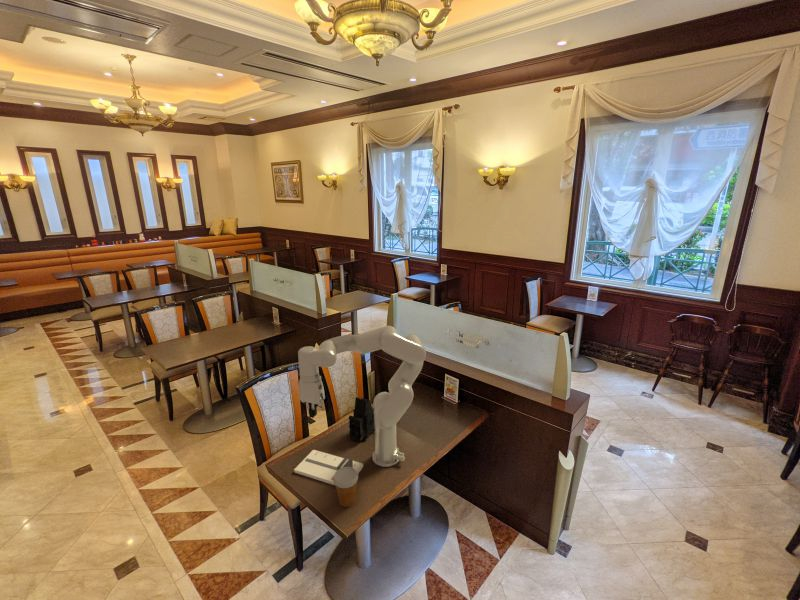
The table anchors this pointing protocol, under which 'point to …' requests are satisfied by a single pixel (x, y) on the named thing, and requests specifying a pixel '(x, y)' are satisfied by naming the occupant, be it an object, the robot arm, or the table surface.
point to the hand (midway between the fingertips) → (313, 415)
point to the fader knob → (345, 463)
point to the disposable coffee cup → (346, 485)
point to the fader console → (322, 466)
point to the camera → (361, 420)
